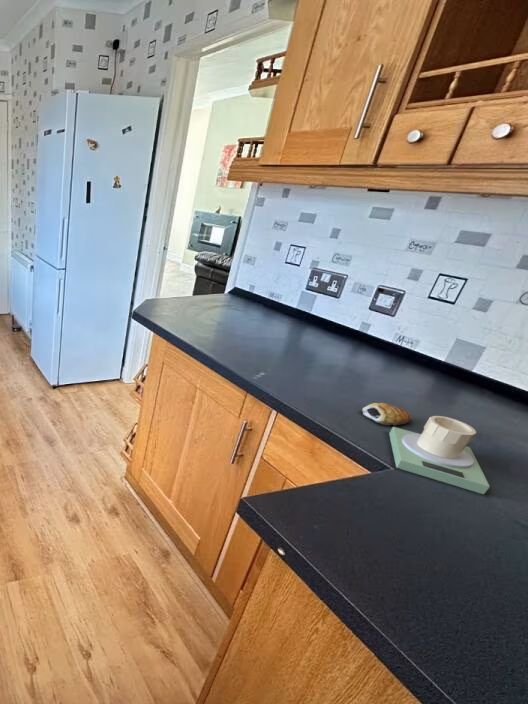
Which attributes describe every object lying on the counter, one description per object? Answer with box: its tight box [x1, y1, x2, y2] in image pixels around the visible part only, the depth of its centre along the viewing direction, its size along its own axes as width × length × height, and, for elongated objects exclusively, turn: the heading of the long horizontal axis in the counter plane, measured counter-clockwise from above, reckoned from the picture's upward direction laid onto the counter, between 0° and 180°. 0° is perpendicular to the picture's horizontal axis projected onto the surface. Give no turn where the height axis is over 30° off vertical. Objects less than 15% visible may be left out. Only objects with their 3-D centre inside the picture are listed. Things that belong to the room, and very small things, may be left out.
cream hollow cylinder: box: [417, 415, 477, 459], centre depth 84 cm, size 7×7×6 cm
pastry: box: [361, 402, 412, 426], centre depth 100 cm, size 9×7×4 cm
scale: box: [388, 426, 491, 495], centre depth 86 cm, size 13×15×3 cm
